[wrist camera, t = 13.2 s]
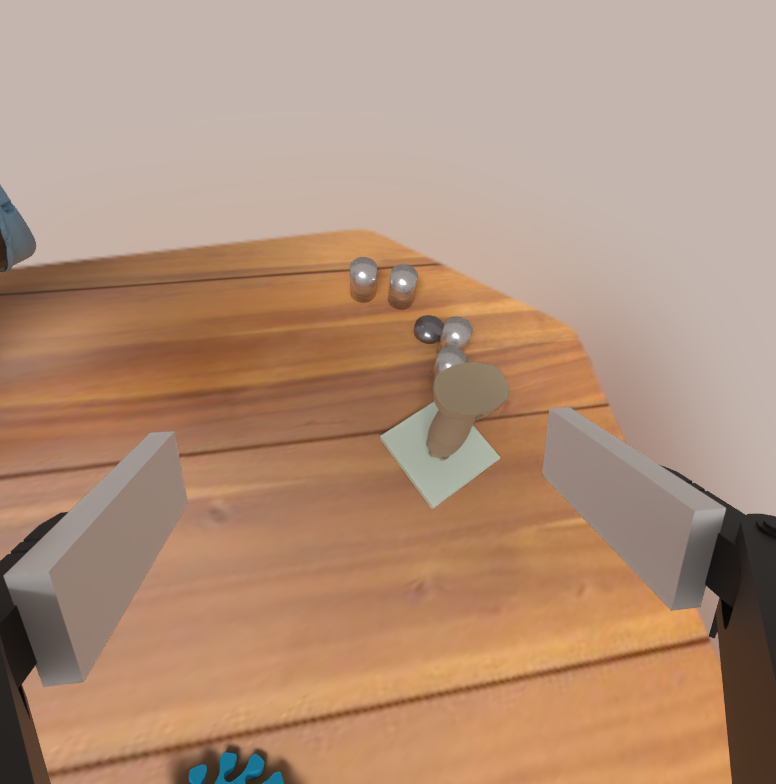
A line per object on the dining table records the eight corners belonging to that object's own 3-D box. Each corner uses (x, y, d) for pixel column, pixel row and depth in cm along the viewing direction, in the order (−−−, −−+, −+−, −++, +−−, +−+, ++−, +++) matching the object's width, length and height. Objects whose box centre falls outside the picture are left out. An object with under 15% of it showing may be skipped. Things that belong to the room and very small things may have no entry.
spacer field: (345, 289, 60) (345, 263, 56) (390, 267, 63) (393, 241, 58) (437, 399, 53) (444, 380, 49) (483, 370, 56) (494, 349, 51)
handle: (472, 461, 49) (517, 405, 35) (418, 474, 48) (444, 420, 34) (459, 423, 51) (497, 357, 37) (407, 434, 50) (427, 369, 36)
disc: (407, 331, 58) (408, 326, 57) (427, 315, 59) (429, 310, 58) (429, 350, 57) (430, 345, 56) (448, 333, 58) (450, 328, 57)
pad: (379, 439, 50) (380, 435, 49) (444, 397, 53) (446, 393, 52) (432, 509, 47) (433, 507, 46) (498, 460, 50) (500, 457, 49)
